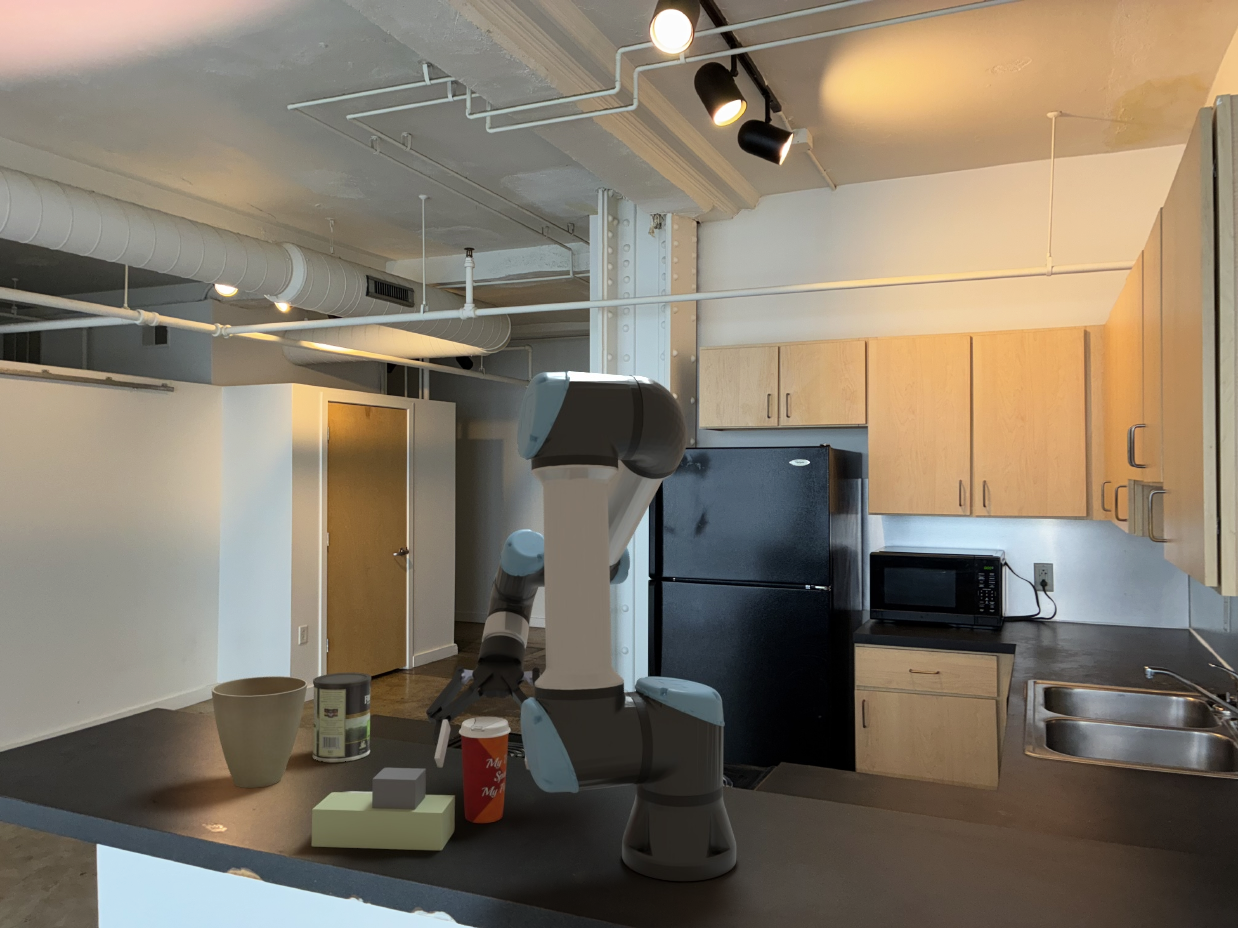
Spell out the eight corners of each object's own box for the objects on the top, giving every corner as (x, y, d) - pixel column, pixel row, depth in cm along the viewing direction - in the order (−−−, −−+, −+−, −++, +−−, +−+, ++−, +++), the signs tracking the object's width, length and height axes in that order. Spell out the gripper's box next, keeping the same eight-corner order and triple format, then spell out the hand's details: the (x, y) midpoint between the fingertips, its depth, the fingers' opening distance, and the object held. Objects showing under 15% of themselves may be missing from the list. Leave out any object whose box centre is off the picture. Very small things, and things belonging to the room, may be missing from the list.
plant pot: (188, 791, 142) (191, 691, 143) (248, 764, 157) (249, 674, 157) (270, 799, 139) (272, 697, 139) (323, 771, 153) (324, 678, 154)
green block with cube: (470, 806, 136) (471, 747, 137) (441, 850, 119) (442, 782, 120) (344, 802, 138) (345, 744, 138) (298, 845, 121) (299, 779, 121)
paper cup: (499, 827, 128) (500, 729, 128) (449, 823, 129) (451, 726, 130) (516, 809, 135) (517, 716, 136) (469, 805, 137) (470, 714, 137)
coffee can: (368, 744, 170) (369, 670, 170) (372, 759, 160) (373, 681, 161) (311, 749, 166) (312, 673, 167) (312, 765, 157) (313, 685, 157)
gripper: (579, 660, 150) (567, 778, 134) (434, 657, 151) (406, 773, 136) (576, 633, 145) (563, 753, 129) (426, 631, 146) (396, 749, 131)
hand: (483, 764), depth 133 cm, fingers open, 13 cm apart
